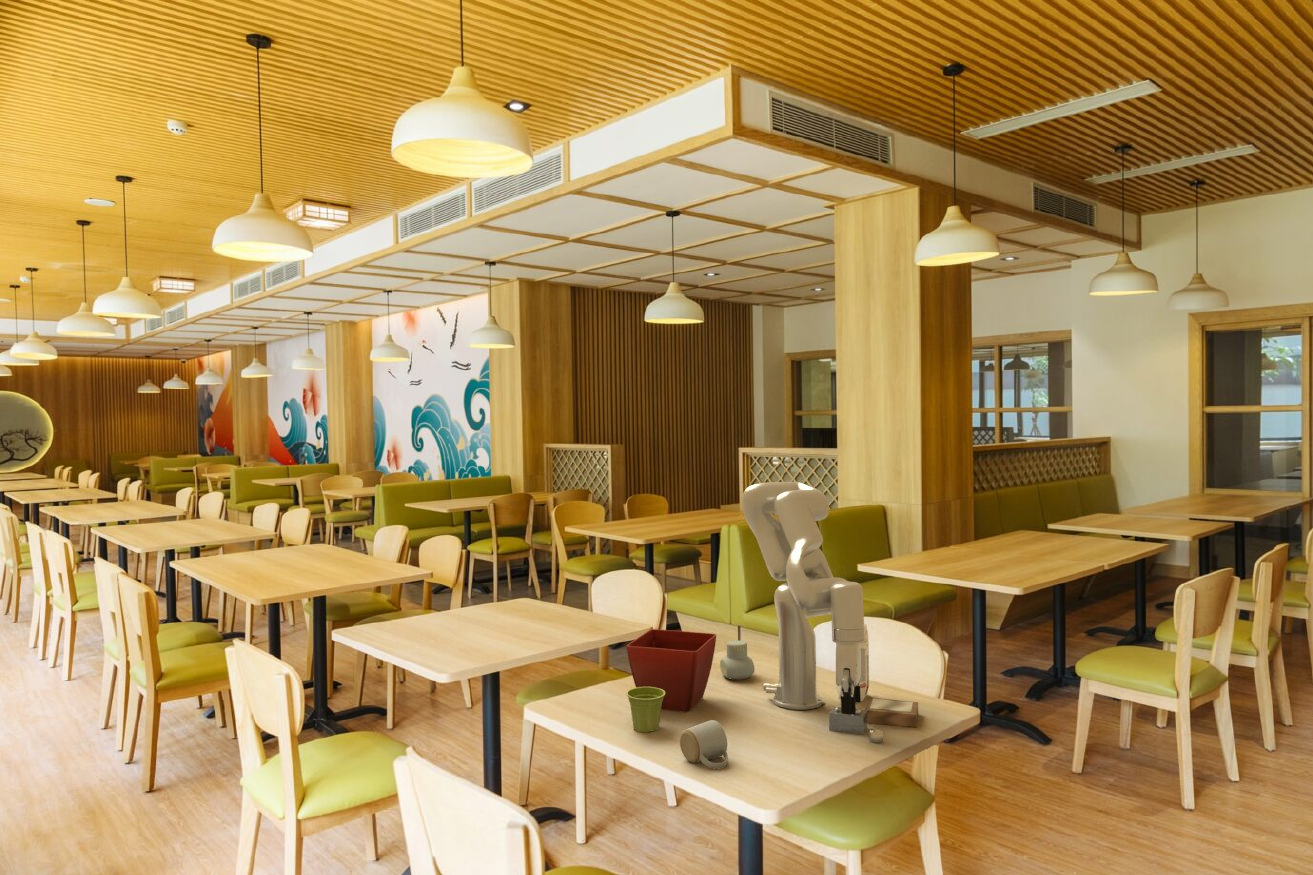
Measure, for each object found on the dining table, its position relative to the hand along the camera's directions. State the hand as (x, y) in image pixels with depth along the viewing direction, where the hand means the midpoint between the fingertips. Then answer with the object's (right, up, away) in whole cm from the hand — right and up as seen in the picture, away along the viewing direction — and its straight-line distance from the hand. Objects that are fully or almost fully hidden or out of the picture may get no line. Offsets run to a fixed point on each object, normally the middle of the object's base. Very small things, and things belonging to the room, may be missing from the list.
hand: (851, 707), depth 200 cm
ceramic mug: (-35, -6, -17) cm, 39 cm away
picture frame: (+12, -5, +8) cm, 15 cm away
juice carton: (+6, -5, +25) cm, 27 cm away
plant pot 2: (-42, -6, +22) cm, 48 cm away
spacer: (+4, -5, -7) cm, 10 cm away
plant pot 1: (-48, -6, +4) cm, 49 cm away
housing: (0, -6, +1) cm, 6 cm away
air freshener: (-23, -6, +45) cm, 51 cm away
